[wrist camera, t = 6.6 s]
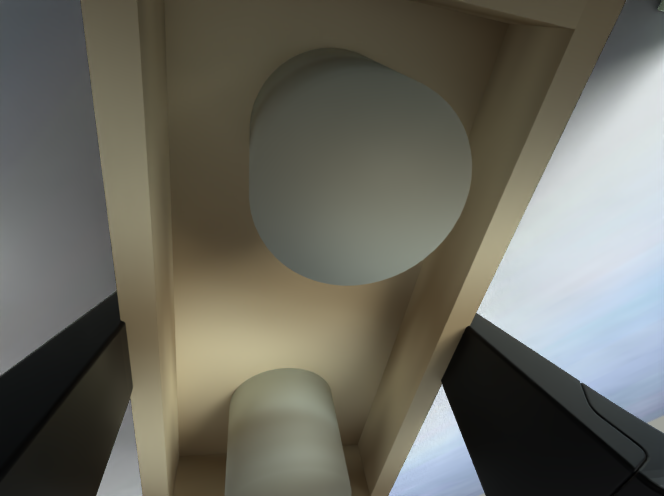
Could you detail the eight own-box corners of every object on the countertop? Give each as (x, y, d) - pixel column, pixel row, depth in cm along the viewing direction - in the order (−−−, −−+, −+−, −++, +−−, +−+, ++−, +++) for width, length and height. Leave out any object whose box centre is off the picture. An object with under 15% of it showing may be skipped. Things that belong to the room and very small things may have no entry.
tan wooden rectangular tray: (364, 432, 14) (394, 545, 11) (163, 444, 13) (136, 579, 10) (526, -8, 7) (708, -14, 4) (128, -112, 6) (-6, -235, 3)
